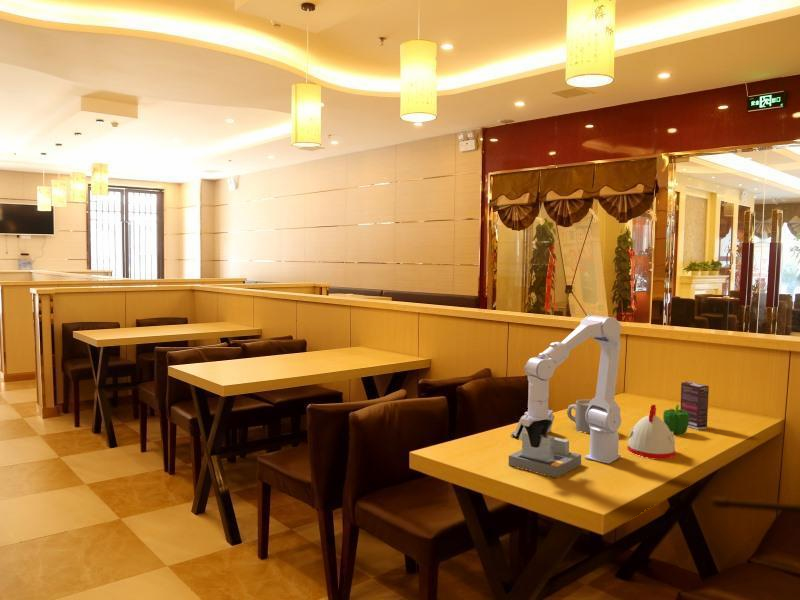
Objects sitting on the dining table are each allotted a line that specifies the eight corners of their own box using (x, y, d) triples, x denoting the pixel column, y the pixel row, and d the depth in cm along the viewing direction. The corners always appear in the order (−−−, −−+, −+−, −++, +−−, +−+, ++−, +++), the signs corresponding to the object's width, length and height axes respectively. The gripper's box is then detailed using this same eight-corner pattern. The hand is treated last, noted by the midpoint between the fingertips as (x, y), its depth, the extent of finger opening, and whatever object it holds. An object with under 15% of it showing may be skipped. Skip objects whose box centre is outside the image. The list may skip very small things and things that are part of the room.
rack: (534, 453, 195) (534, 431, 194) (581, 464, 184) (581, 441, 184) (508, 465, 183) (509, 442, 182) (556, 478, 173) (557, 453, 172)
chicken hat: (677, 449, 200) (679, 404, 198) (671, 461, 188) (673, 413, 187) (632, 443, 207) (633, 398, 206) (624, 454, 195) (625, 407, 194)
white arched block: (539, 428, 223) (547, 404, 220) (549, 435, 220) (558, 411, 217) (509, 436, 212) (517, 411, 209) (519, 444, 209) (528, 419, 206)
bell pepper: (681, 437, 213) (683, 409, 212) (658, 432, 219) (660, 404, 219) (693, 433, 218) (694, 405, 218) (670, 428, 225) (671, 401, 224)
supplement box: (707, 429, 224) (709, 385, 223) (697, 430, 222) (699, 386, 221) (688, 423, 232) (690, 381, 231) (678, 424, 230) (680, 382, 229)
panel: (526, 454, 183) (526, 431, 183) (554, 460, 177) (554, 436, 177) (521, 456, 181) (522, 432, 181) (549, 463, 176) (550, 438, 175)
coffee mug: (609, 430, 221) (610, 403, 220) (594, 435, 215) (594, 407, 214) (577, 422, 231) (578, 396, 231) (561, 427, 225) (562, 400, 224)
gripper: (538, 393, 187) (537, 437, 187) (513, 401, 176) (512, 448, 177) (559, 396, 182) (558, 442, 183) (535, 405, 171) (534, 453, 172)
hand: (537, 445), depth 179 cm, fingers closed on panel, 2 cm apart
